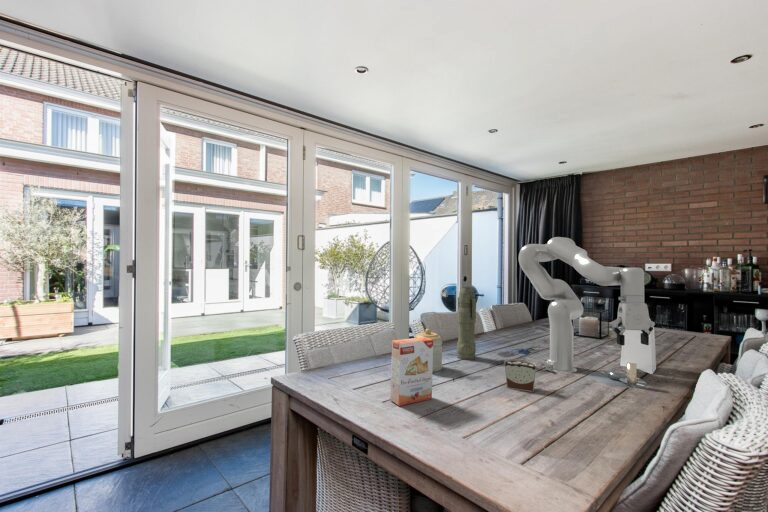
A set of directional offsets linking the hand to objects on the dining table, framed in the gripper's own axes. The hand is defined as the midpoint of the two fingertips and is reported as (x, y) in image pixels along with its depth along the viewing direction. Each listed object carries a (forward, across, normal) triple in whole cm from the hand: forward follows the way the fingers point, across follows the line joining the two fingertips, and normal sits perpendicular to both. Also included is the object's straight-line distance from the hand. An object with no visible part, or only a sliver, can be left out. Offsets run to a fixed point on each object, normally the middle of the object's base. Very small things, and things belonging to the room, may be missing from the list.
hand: (632, 344), depth 141 cm
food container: (+17, -42, +4) cm, 46 cm away
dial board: (+17, 0, +8) cm, 19 cm away
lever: (+15, 0, +5) cm, 16 cm away
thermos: (+16, -50, +48) cm, 71 cm away
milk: (+17, +24, +26) cm, 39 cm away
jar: (+16, -73, +30) cm, 81 cm away
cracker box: (+17, -86, -6) cm, 88 cm away
